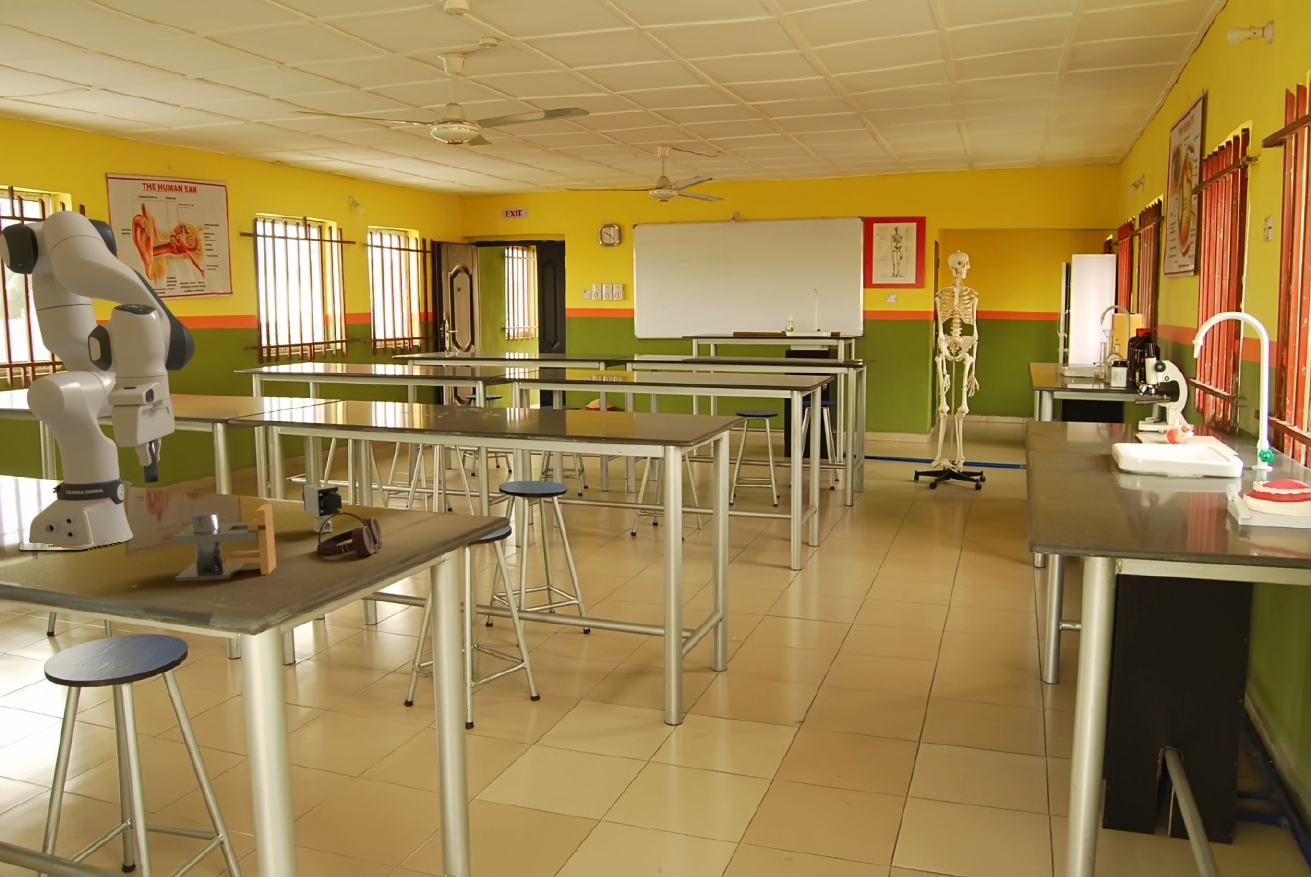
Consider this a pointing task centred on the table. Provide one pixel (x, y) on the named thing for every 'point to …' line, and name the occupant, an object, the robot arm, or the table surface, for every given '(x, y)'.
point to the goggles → (360, 537)
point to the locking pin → (152, 469)
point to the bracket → (260, 542)
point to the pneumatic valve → (321, 504)
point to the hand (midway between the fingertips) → (149, 463)
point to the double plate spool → (211, 546)
